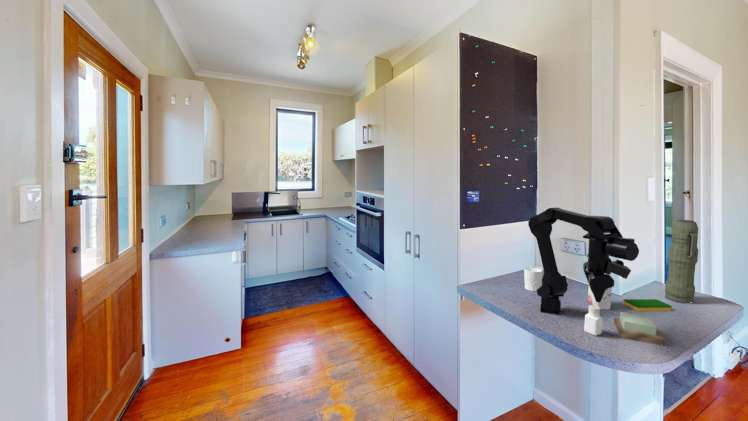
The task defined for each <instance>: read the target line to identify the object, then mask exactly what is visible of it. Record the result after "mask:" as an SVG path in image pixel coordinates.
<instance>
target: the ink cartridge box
mask: <svg viewBox="0 0 748 421" xmlns="http://www.w3.org/2000/svg"><path fill="white" fill-rule="evenodd" d="M605 274H606V273H605ZM609 275H610V276H611V277H612V278H613V276H612V274H609ZM612 288H613V287H612ZM612 288H608V289H606V290H605V292H604V295H603V297H602V299H601V302H596V300H595V297H594V295H593V293H592V291H591V288H590V286H589V285H588V287H587V289H588V291H587V302H589V303H590V305H595V306H598V307H600V310H611V305H612V304H611V303H612Z"/></svg>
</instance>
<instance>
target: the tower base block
mask: <svg viewBox="0 0 748 421" xmlns="http://www.w3.org/2000/svg"><path fill="white" fill-rule="evenodd" d="M613 326H614V327H615V330H616V332H617V335H618V337H619V338H622V339H626V340H631V341H636V342H640V343H647V344H652V345H656V346H661V345H663V346H662V347H664V346H665V338H664V337H663V335H662V334H661V332H660V331H659V328H658V327H657V328H656V336H654V335H649V334H644V333H639V332H633V331H628V330H624V328H623V326H622V324H621V321H620V317H613Z"/></svg>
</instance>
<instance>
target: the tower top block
mask: <svg viewBox="0 0 748 421" xmlns="http://www.w3.org/2000/svg"><path fill="white" fill-rule="evenodd" d="M619 314H620V315H619V318H620V321H621V324H622V326H623V328H624V330H628V331H633V332H639V333H644V334H649V335H654V336H656V328H657V329H658V327H657V325H656V324H655V323H654V321H653V319H652V318H651V316H646V315H639V314H636V313H635V314H634V313H628V312H623V311H620V313H619Z"/></svg>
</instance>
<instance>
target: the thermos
mask: <svg viewBox="0 0 748 421" xmlns="http://www.w3.org/2000/svg"><path fill="white" fill-rule="evenodd" d="M698 236H699V227H698V224H697V222H696V221H694V220H689V219H678V220H675V221H674V223H673V225H672V231H671V241H670V242H671V243H670V244H669V246H668V254H667V256H668V257H667V259H668V261H669V262H668V271H667V272H668V273H667V279H666V281H665V288H664V292H665V296H664V298H665V299H666V300H668V301H672V302H675V303H680V304H685V303H690V302H693V303H694V298H695V295H696V286H695V284H694V282H695V274H696V265H697V264H698V260H699V259H698V258H699V248H698V238H699V237H698Z"/></svg>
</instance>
